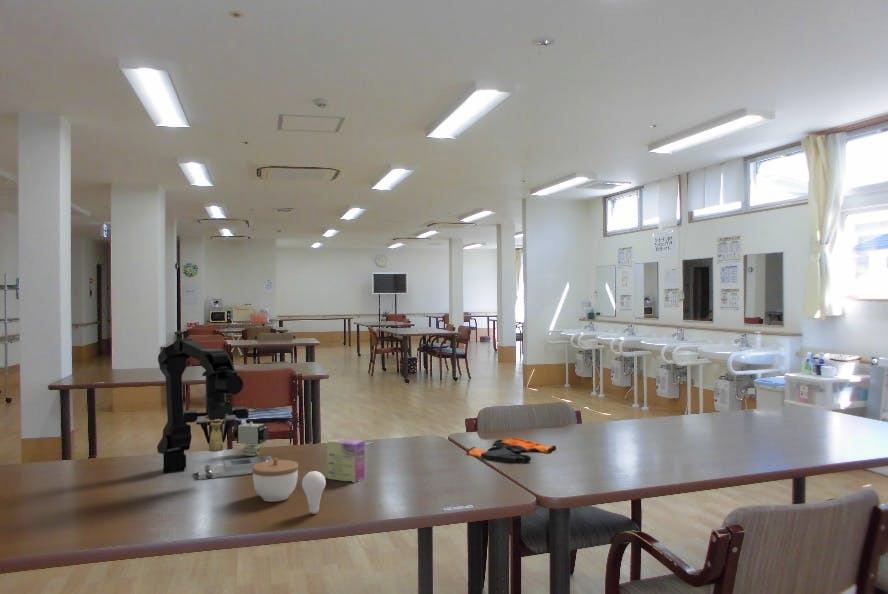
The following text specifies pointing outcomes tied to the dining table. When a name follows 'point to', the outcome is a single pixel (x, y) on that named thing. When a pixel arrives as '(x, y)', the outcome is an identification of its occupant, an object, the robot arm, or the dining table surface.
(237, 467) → the silver plate
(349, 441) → the box
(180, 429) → the robot arm
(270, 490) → the lidded bowl
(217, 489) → the dining table surface
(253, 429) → the pneumatic valve
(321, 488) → the lightbulb
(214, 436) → the brass knob
